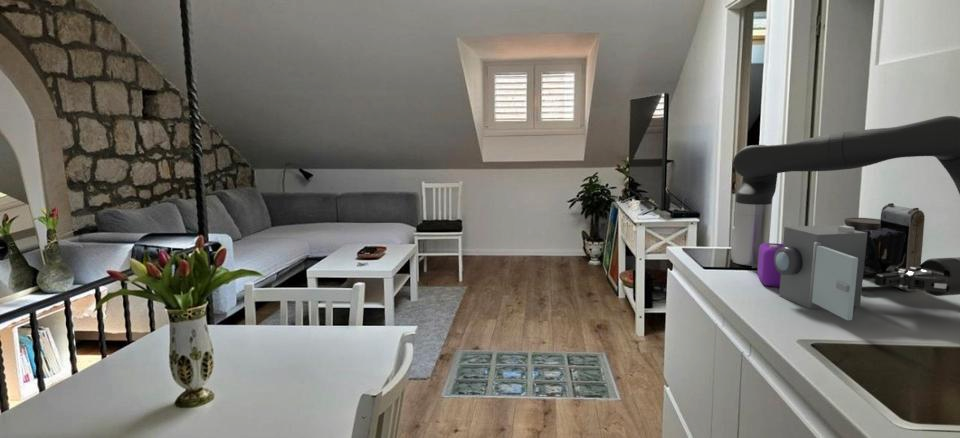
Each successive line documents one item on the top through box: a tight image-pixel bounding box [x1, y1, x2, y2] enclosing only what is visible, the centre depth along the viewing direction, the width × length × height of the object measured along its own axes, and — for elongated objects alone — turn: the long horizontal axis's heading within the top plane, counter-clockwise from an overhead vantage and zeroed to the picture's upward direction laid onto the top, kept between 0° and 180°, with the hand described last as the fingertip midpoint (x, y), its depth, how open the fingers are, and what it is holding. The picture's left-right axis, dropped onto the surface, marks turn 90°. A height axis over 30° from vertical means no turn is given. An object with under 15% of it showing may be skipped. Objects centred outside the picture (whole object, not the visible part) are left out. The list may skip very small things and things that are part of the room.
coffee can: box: [844, 217, 881, 231], centre depth 154 cm, size 10×10×14 cm
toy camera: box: [757, 242, 783, 288], centre depth 145 cm, size 11×14×10 cm
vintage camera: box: [861, 202, 925, 293], centre depth 139 cm, size 10×15×20 cm, turn 95°
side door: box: [809, 242, 858, 321], centre depth 116 cm, size 2×13×13 cm, turn 1°
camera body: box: [774, 224, 867, 310], centre depth 129 cm, size 10×15×17 cm
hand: (878, 280), depth 116 cm, fingers closed
